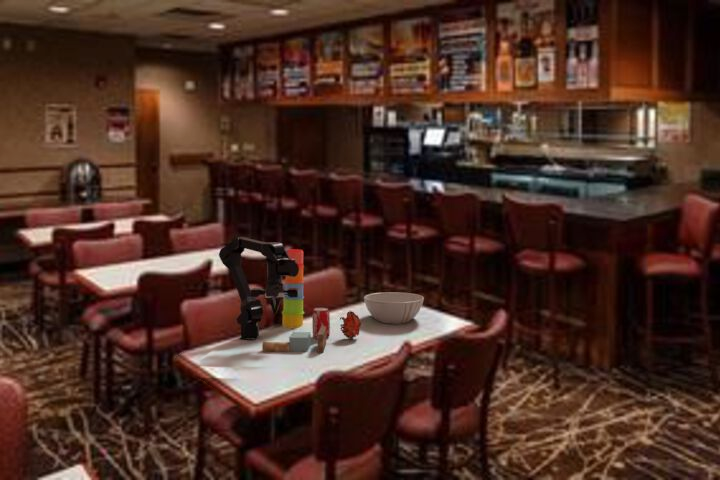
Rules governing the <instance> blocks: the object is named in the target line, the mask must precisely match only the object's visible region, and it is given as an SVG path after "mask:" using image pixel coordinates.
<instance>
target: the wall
mask: <svg viewBox="0 0 720 480" xmlns="http://www.w3.org/2000/svg"><path fill="white" fill-rule="evenodd" d="M326 346H327V338H326V326H321V328H320V330H319V332H318V339H317V353H319V354H323V353H324V351H325V349H326Z"/></svg>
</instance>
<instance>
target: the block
mask: <svg viewBox="0 0 720 480" xmlns="http://www.w3.org/2000/svg"><path fill="white" fill-rule="evenodd" d="M288 342H289V352H309V349H310V348H311V344H312V343H311V331H310V332H308V331H293V332H292V333H291V334H290V336H289V340H288Z"/></svg>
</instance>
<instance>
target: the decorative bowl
mask: <svg viewBox="0 0 720 480" xmlns="http://www.w3.org/2000/svg"><path fill="white" fill-rule="evenodd" d="M424 300H425V297H424V296H423V295H420V294H417V293H409V292H396V291H394V292H393V291H392V292H375V293H369V294H366V295H365V296H363V301H364V304H365V307H366V309H367V311H368V312H369V313H370V315H371V316H372V317H373V318H374V319H376V321H378V322H380V323H384V324H390V323H392V324H394V325H396V324H399V323H400V324H404V323H408V322H410V321H412V320H413V319H414V318H415V317H416V316H417V315H418V314H419V313H420V310H421V308H422V306H423V304H424Z"/></svg>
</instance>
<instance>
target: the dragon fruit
mask: <svg viewBox="0 0 720 480" xmlns="http://www.w3.org/2000/svg"><path fill="white" fill-rule="evenodd" d="M348 310H349V311H346V312H347V313H346V317H344V316H342V317H339V320H342V321H343V324H342V323H341V324H340V331H341V332H342V334H343V336H345V338H347V339H350V340H351V339H354V338H356V337H357V336H359V335H360V331H361V326H362V321H361V320H360V318H359V315H357V314H356V313H355V312H354V311H352V310H350V309H348Z"/></svg>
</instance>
